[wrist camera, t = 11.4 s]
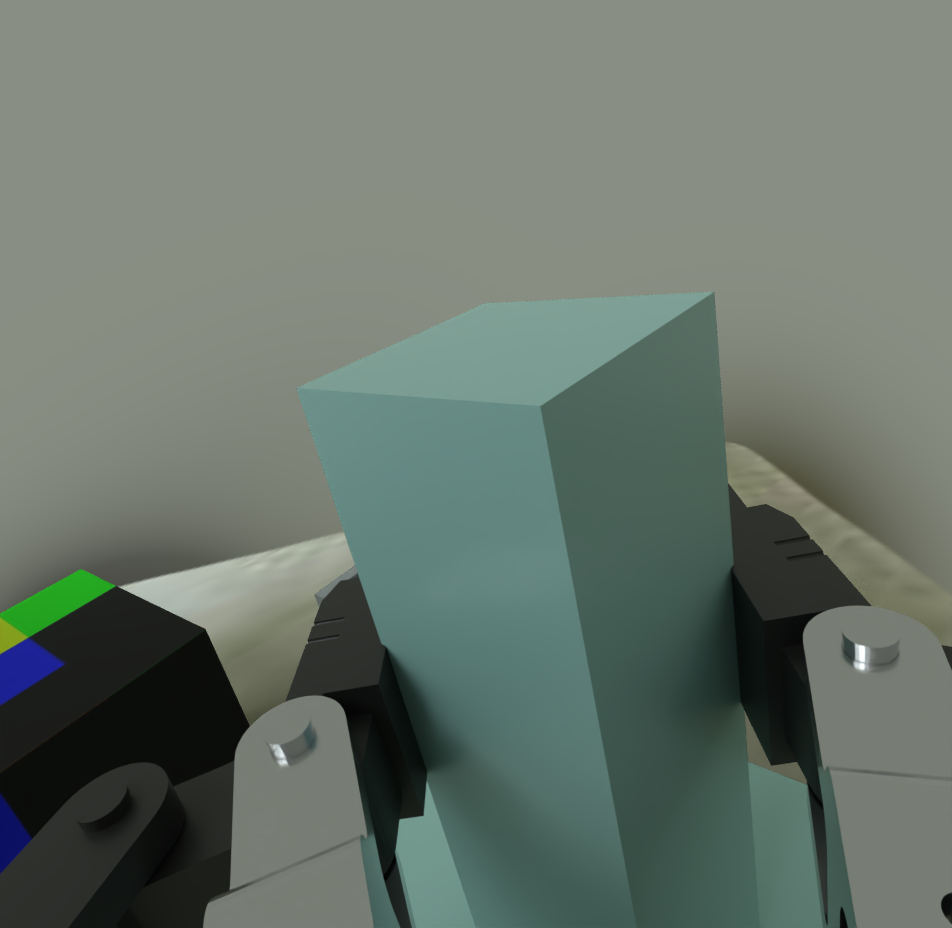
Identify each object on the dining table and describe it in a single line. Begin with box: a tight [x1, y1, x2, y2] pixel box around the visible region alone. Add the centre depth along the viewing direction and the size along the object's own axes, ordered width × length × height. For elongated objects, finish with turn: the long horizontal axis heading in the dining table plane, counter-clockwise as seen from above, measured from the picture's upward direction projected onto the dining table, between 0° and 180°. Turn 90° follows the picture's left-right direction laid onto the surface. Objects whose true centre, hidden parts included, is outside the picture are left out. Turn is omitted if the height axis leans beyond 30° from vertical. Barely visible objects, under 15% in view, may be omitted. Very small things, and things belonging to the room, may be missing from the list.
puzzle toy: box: [0, 569, 250, 874], centre depth 25 cm, size 10×10×10 cm
